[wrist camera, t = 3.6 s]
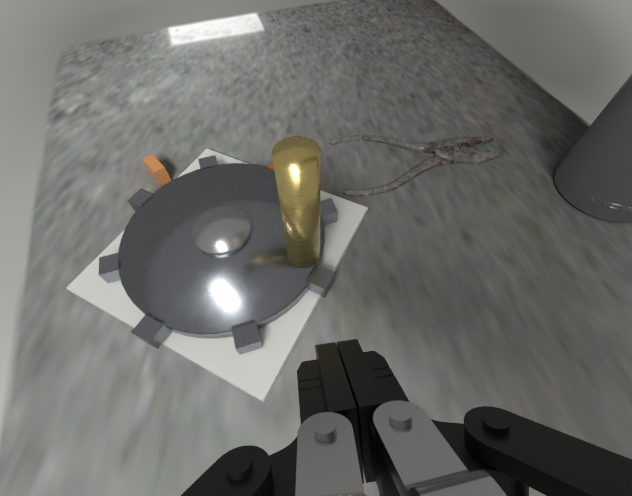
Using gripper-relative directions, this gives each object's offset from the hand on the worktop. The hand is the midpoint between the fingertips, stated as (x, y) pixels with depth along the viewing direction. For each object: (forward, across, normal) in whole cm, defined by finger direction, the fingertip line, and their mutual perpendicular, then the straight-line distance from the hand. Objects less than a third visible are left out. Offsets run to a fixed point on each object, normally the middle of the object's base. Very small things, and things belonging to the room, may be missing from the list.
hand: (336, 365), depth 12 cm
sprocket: (+20, +7, -1) cm, 22 cm away
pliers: (+29, -14, -8) cm, 34 cm away
